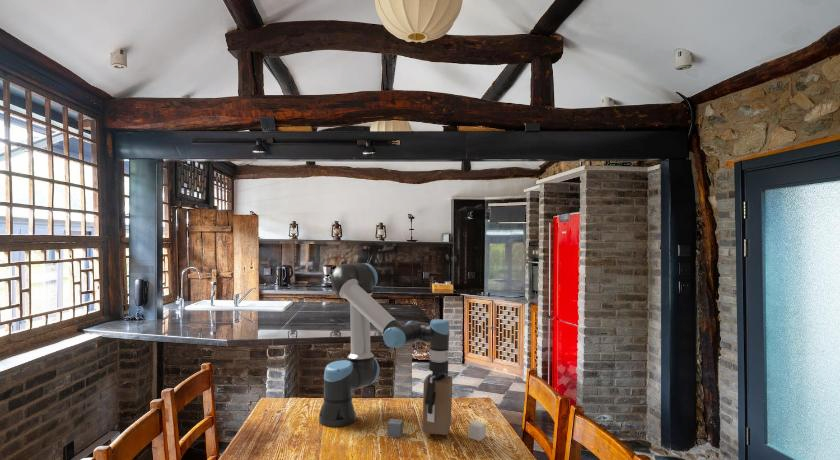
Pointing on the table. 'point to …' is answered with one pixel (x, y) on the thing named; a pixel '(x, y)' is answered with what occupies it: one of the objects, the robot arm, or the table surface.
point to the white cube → (477, 430)
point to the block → (439, 407)
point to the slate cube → (395, 427)
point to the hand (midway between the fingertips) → (437, 416)
